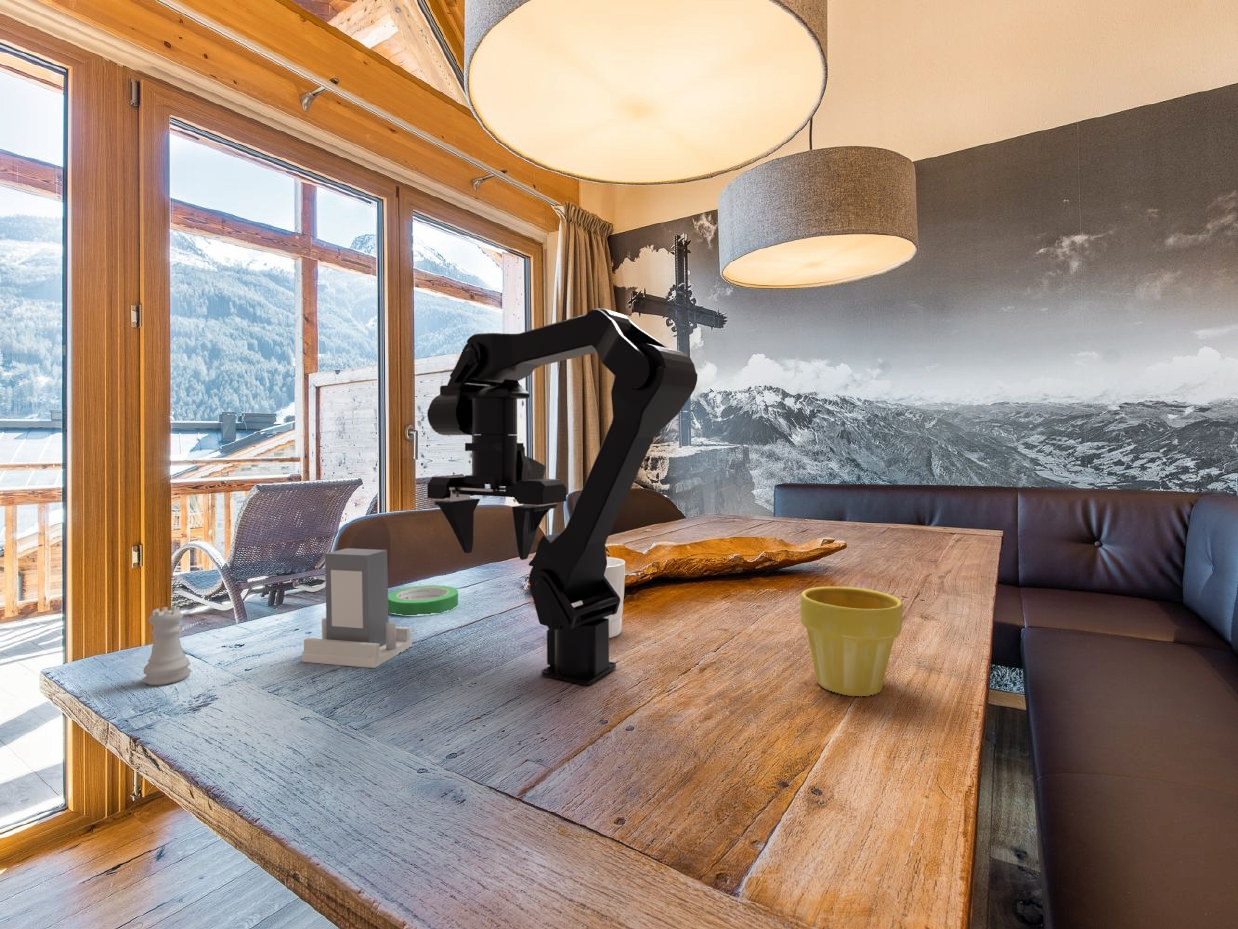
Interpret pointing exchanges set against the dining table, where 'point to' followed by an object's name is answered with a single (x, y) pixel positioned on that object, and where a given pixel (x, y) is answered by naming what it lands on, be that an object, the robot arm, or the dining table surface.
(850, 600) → the plant pot
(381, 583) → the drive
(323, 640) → the tray
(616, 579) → the white cup
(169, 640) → the rook chess piece
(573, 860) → the dining table surface
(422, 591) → the tape roll
